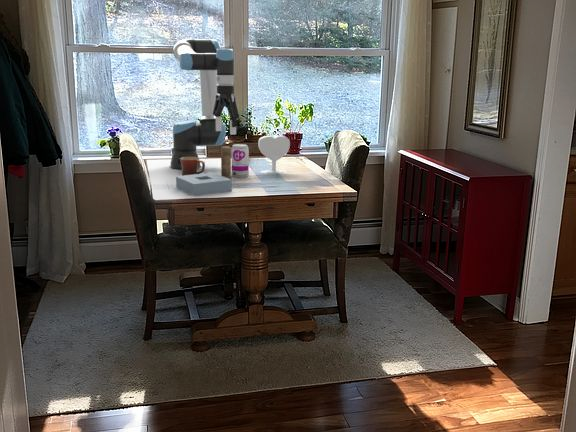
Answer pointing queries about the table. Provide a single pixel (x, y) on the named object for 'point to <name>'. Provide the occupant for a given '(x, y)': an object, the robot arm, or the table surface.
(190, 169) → the mug
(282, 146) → the heart sculpture
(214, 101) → the robot arm
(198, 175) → the socket block
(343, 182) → the table surface
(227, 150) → the walnut peg
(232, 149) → the supplement can
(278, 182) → the table surface
